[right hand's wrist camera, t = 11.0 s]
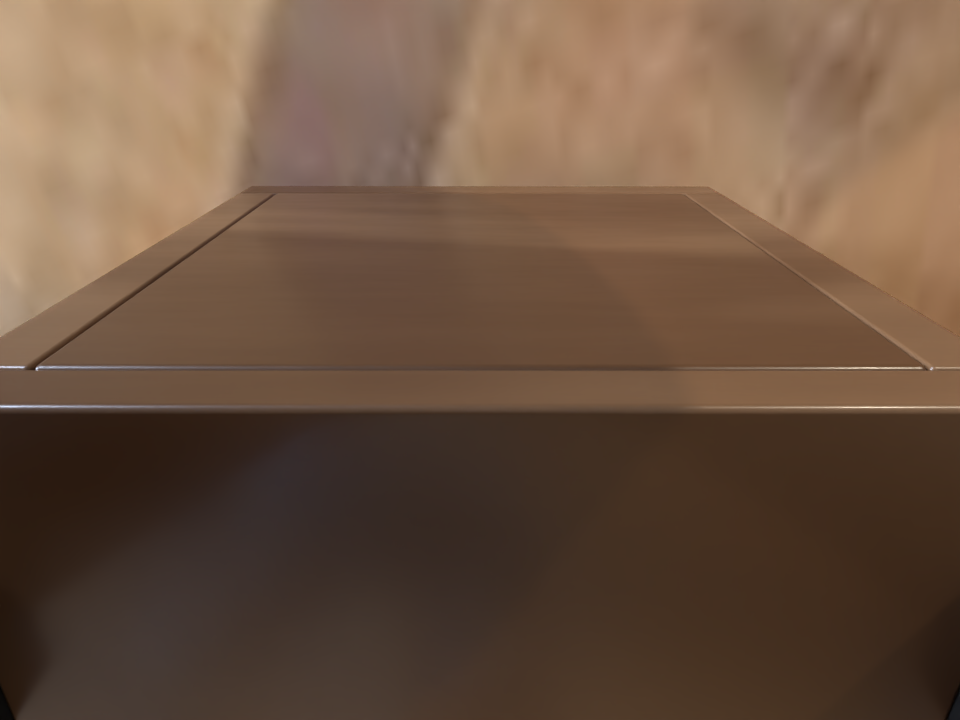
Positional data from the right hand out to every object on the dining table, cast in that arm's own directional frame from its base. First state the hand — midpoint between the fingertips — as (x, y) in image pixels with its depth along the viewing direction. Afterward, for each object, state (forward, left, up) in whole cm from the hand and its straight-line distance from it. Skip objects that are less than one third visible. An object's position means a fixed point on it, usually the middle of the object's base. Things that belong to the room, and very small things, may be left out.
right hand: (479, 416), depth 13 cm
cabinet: (+4, -6, -6) cm, 9 cm away
